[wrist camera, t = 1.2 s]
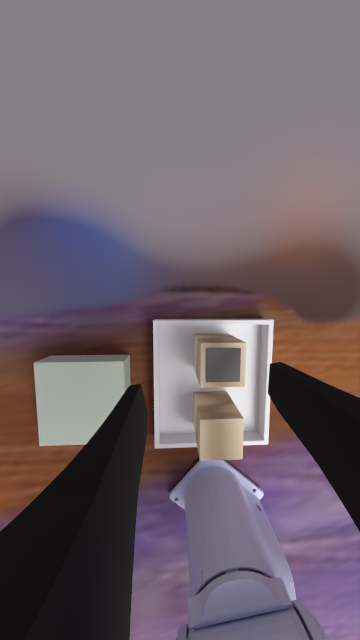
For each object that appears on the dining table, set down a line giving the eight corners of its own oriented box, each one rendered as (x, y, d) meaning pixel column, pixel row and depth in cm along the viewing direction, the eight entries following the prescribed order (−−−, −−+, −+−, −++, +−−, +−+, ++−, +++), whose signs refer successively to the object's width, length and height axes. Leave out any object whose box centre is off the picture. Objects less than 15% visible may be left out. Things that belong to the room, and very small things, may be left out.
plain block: (226, 391, 21) (243, 418, 16) (225, 422, 21) (242, 459, 16) (193, 391, 20) (200, 419, 15) (193, 423, 21) (199, 461, 16)
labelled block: (227, 333, 20) (246, 342, 15) (227, 366, 20) (245, 387, 15) (193, 333, 20) (201, 343, 15) (193, 367, 20) (200, 388, 15)
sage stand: (129, 354, 20) (123, 361, 18) (131, 426, 21) (126, 443, 18) (50, 355, 20) (33, 362, 17) (55, 429, 21) (39, 446, 18)
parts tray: (154, 318, 20) (153, 320, 18) (263, 318, 21) (273, 319, 19) (156, 435, 21) (154, 448, 19) (259, 431, 22) (268, 444, 20)
